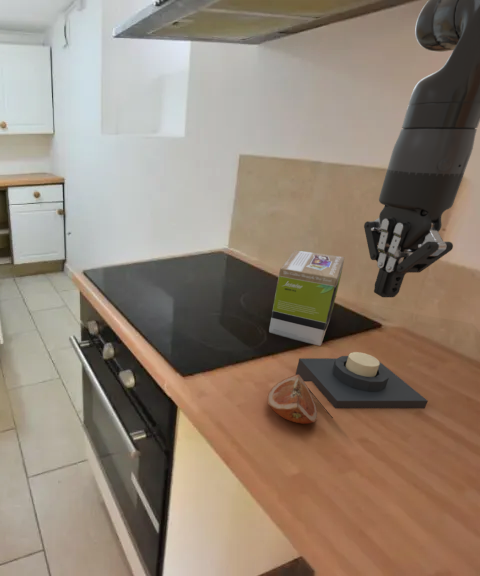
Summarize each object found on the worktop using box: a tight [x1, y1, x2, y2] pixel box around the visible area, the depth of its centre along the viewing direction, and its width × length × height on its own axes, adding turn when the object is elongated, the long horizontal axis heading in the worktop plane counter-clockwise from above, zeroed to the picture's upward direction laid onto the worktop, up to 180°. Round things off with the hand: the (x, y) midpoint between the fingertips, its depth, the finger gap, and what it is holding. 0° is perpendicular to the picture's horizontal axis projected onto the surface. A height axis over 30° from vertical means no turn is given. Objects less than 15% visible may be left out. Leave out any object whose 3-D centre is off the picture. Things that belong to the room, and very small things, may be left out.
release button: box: [346, 351, 381, 377], centre depth 58 cm, size 4×4×2 cm
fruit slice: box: [267, 374, 318, 425], centre depth 55 cm, size 8×7×5 cm
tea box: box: [268, 249, 345, 347], centre depth 79 cm, size 15×10×15 cm, turn 144°
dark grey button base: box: [295, 355, 428, 419], centre depth 60 cm, size 13×11×5 cm
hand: (384, 295), depth 54 cm, fingers closed
